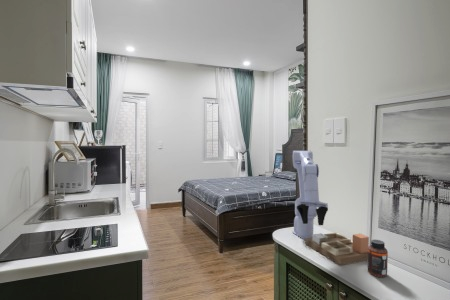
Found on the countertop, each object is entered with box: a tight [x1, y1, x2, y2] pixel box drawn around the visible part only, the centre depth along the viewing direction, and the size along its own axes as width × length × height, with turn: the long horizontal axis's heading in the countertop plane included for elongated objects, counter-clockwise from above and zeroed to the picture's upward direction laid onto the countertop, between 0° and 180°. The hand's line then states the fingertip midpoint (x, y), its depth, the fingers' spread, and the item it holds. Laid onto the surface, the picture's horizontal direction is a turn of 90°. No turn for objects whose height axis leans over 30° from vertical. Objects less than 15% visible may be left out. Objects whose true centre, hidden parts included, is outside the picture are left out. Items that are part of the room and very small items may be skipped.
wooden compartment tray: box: [305, 232, 368, 266], centre depth 110 cm, size 21×16×4 cm
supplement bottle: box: [367, 239, 389, 278], centre depth 91 cm, size 6×6×11 cm
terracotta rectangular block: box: [352, 233, 370, 253], centre depth 104 cm, size 4×4×6 cm
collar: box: [322, 240, 353, 256], centre depth 104 cm, size 8×8×2 cm
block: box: [312, 233, 328, 245], centre depth 112 cm, size 4×4×3 cm
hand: (313, 224), depth 108 cm, fingers open, 7 cm apart
